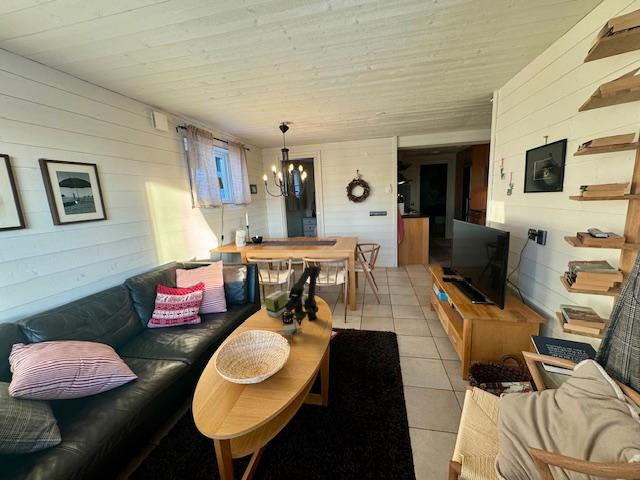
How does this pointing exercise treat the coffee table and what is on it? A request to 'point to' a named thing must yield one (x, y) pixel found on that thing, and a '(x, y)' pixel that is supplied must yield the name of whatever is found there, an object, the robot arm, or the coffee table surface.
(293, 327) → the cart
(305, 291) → the fox head
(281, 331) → the track
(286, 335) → the block
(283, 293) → the tea box
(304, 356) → the coffee table surface
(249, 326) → the coffee table surface
